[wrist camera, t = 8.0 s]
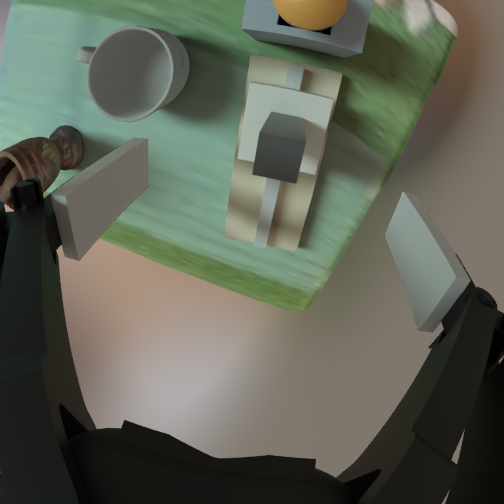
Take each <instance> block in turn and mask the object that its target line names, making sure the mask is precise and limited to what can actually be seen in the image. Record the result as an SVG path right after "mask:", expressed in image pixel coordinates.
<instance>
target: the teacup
mask: <svg viewBox="0 0 504 504" xmlns="http://www.w3.org/2000/svg"><path fill="white" fill-rule="evenodd" d="M77 60H78V61H80V62H83V63H87V64H89V68H88V89H89V92H90V95H91V98H92V100H93V102H94V103H95V105H96V106H97V107H98V108H99V110H101V111H102V113H103V114H105V115H106V116H108V117H110V118H112V119H114V120H118V121H123V122H132V121H137V120H140V119H143V118H145V117H147V116H149V115H151V114H152V113H153V112H155V111H156V110H158V109H160V108H162V107H164V106H165V105H167V104H168V103H170V102H171V101H172V100H173V99H175V98H176V97H177V96H178V94H179V93H180V92H181V91H182V89H183V88H184V86H185V84H186V82H187V79H188V75H189V68H190V63H189V57H188V53H187V51H186V49H185V47H184V45H183V44H182V43H181V41H180V40H179V39H178V38H176V37H175V36H174V35H172V34H170V33H168V32H166V31H163V30H159V29H154V28H147V27H142V26H128V27H123V28H121V29H118V30H116V31H114V32H112V33H111V34H109V35H108V36H107V37H106V38H105V39H104V40H103V41H102V42H101V43H100V44H99V46H98V47H82V48H80V49H79V51H78V53H77Z"/></svg>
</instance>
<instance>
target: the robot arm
mask: <svg viewBox="0 0 504 504" xmlns="http://www.w3.org/2000/svg"><path fill="white" fill-rule="evenodd" d="M147 187H148V139H144V138H134V139H132V140H130V141H129V142H127V143H125V144H124V145H122V146H120V147H119V148H117V149H115V150H114V151H112V152H110V153H109V154H107V155H106V156H104V157H103V158H101V159H99V160H98V161H96V162H95V163H93V164H92V165H90V166H89V167H87V168H86V169H84V170H83V171H81V172H80V173H79V174H77V175H76V176H74V177H72V178H71V179H69V180H68V181H66V182H65V183H64V184H62V185H61V186H60V187H59V188H57V189H56V190H54V191H53V192H52V193H50V194H49V195H48V196H47V197H45V198H44V197H43V192H42V187H41V181H40V179H38V178H29V179H25V180H22V181H20V182H18V183H16V184H15V185H14V186H12V187H11V189H10V194H11V198H12V202H13V206H14V212H6V211H5V207H4V204H3V202H1V201H0V472H1V473H0V504H442V502H443V500H444V498H445V497H446V495H447V493H448V491H449V490H450V491H449V494H448V497H447V500H446V503H445V504H504V358H503V360H502V361H501V363H500V364H499V360H500V359H501V358H502V357H503V356H504V313H502V312H500V311H498V310H497V304H496V302H495V300H494V298H493V297H492V296H491V295H490V294H489V293H488V292H487V291H486V290H484V289H482V288H479V287H475V285H474V283H473V281H472V279H471V278H470V276H469V274H468V272H467V271H466V269H465V267H464V265H463V264H462V262H461V260H460V259H459V257H458V256H457V254H456V253H455V252H454V251H453V249H452V248H451V246H450V245H449V243H448V241H447V240H446V238H445V237H444V235H443V234H442V232H441V231H440V229H439V228H438V227H437V225H436V223H435V222H434V221H433V219H432V218H431V216H430V215H429V213H428V212H427V210H426V209H425V208H424V206H423V205H422V204H421V202H420V201H419V200H418V198H417V197H416V196H415V195H413V194H410V193H407V192H404V191H403V192H402V195H401V197H400V200H399V202H398V205H397V207H396V210H395V212H394V214H393V217H392V219H391V221H390V224H389V226H388V228H387V231H386V233H385V238H386V240H387V243H388V245H389V248H390V250H391V253H392V255H393V258H394V261H395V263H396V266H397V268H398V271H399V274H400V276H401V279H402V282H403V285H404V288H405V291H406V294H407V297H408V300H409V303H410V306H411V309H412V312H413V315H414V319H415V322H416V325H417V328H418V330H419V331H426V332H433V331H434V330H435V329H436V328H437V326H438V325H439V324H440V322H442V325H443V328H444V330H443V331H442V332H441V333H440V335H439V336H438V337H437V338H436V339H435V341H434V342H433V343H432V344H431V345H430V346H429V348H430V349H431V348H432V349H431V351H430V353H429V355H428V357H427V359H426V361H425V362H424V364H423V366H422V368H421V370H420V371H419V373H418V375H417V376H416V378H415V379H414V381H413V383H412V385H411V386H410V388H409V389H408V391H407V393H406V394H405V396H404V397H403V399H402V400H401V402H400V403H399V405H398V406H397V408H396V409H395V411H394V412H393V413H392V415H391V416H390V418H389V419H388V421H387V422H386V423H385V425H384V426H383V427H382V429H381V430H380V432H379V433H378V434H377V435H376V437H375V438H374V439H373V441H372V442H371V443H370V444H369V446H368V447H367V448H366V449H365V451H364V452H363V453H362V454H361V456H360V457H359V458H358V459H357V460H356V461H355V462H354V463H353V464H352V465H351V466H350V467H349V468H347V469H346V470H345V471H343V472H342V473H341V474H340V475H339V476H338V477H337V478H335V477H333V476H332V475H330V474H328V473H326V472H323V471H321V470H319V469H316V468H315V464H316V459H306V458H293V457H282V456H273V455H265V456H255V457H242V458H223V459H222V458H215V457H212V456H209V455H208V454H205V453H203V452H201V451H199V450H197V449H195V448H193V447H191V446H189V445H187V444H186V443H183V442H182V441H180V440H178V439H176V438H174V437H173V436H171V435H169V434H166V433H162V432H159V431H155V430H152V429H149V428H146V427H143V426H140V425H137V424H134V423H132V422H129V421H126V420H124V422H123V425H122V428H103V429H96V427H95V424H94V422H93V420H92V418H91V417H90V415H89V413H88V411H87V408H86V406H85V403H84V400H83V397H82V393H81V389H80V386H79V382H78V378H77V374H76V370H75V366H74V362H73V357H72V353H71V349H70V343H69V338H68V333H67V327H66V321H65V314H64V308H63V301H62V292H61V283H60V272H59V259H58V255H57V251H56V250H57V249H58V247H60V246H61V245H62V247H63V251H64V254H65V257H68V258H71V259H75V260H78V261H79V260H81V258H82V257H83V256H84V255H85V254H86V252H87V251H88V250H89V249H90V248H91V246H92V245H93V244H94V243H95V242H96V241H97V240H98V239H99V237H100V236H101V235H102V234H103V233H104V232H105V231H106V230H107V229H108V227H109V226H110V225H111V224H112V223H113V222H114V221H115V220H116V219H117V218H118V217H119V216H120V215H121V213H122V212H123V211H124V210H125V209H126V208H127V207H128V206H129V205H130V204H131V203H132V202H133V201H134V200H135V199H136V198H137V197H138V196H139V195H140V194H141V193H142V192H143V191H144V190H145V189H146V188H147ZM464 429H465V431H464ZM463 431H464V436H463V441H462V446H461V451H460V455H459V459H458V463H457V464H455V463H454V462H453V461H452V460H451V459H452V457H453V454H454V451H455V450H456V447H457V445H458V443H459V441H460V439H461V436H462V434H463Z"/></svg>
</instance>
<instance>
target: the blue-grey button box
mask: <svg viewBox="0 0 504 504" xmlns="http://www.w3.org/2000/svg"><path fill="white" fill-rule="evenodd" d="M371 4H372V0H347V7H346V11H345V13H344V15H343V16H342V17H341V18H340V20H339V21H338V22H337V23H335V24H334V25H332V26H331V28H330V33H329V35H326V34H322V33H318V32H313V31H309V30H304V29H299V28H294V27H288V26H282V25H278V23H279V18H280V15H279V14H278V12H277V10H276V8H275V6H274V3H273V0H246V4H245V9H244V15H243V20H242V26H241V29H242V30H244V31H245V32H246V33H248V34H249V35H250V36H251V37H253V38H254V39H255V40H259V41H266V42H272V43H279V44H284V45H290V46H295V47H300V48H305V49H309V50H314V51H318V52H322V53H326V54H330V55H334V56H338V57H341V58H345V57H349V56H353V55H357V54H362V51H363V46H364V41H365V36H366V31H367V26H368V21H369V15H370V10H371Z"/></svg>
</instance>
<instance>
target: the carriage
mask: <svg viewBox="0 0 504 504" xmlns="http://www.w3.org/2000/svg"><path fill="white" fill-rule="evenodd" d="M333 101H334V100H333V99H332V98H330V97H327V96H323V95H319V94H316V93H314V92H310V91H302V90H297V89H293V88H288V87H283V86H279V85H276V84H270V83H267V84H266V83H260V82H250V83H249V88H248V94H247V100H246V106H245V113H244V119H243V125H242V132H241V138H240V145H239V152H238V159H241V160H247V161H252V162H254V166H253V172H252V175H256V176H261V177H266V178H271V179H276V180H281V181H285V182H290V183H295V184H296V183H297V178H298V174H299V171H300V172H305V173H309V174H313V175H315V173H316V169H317V166H318V162H319V158H320V154H321V150H322V146H323V142H324V138H325V134H326V130H327V126H328V122H329V118H330V113H331V109H332V105H333Z"/></svg>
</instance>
